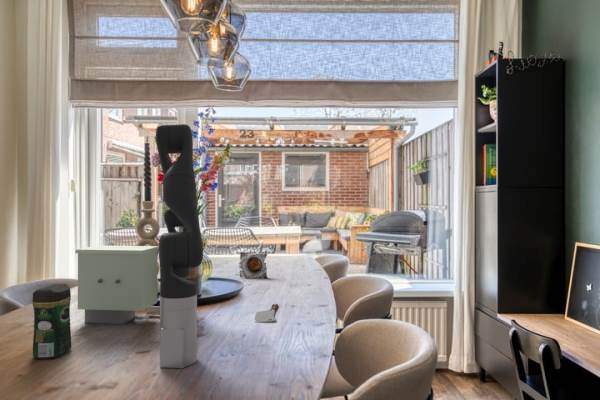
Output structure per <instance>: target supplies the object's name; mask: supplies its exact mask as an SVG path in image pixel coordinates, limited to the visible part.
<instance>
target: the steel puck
mask: <svg viewBox="0 0 600 400" xmlns="http://www.w3.org/2000/svg"><path fill="white" fill-rule="evenodd" d="M149 315H150V314H137V315H135V316H134V317H133V319H132V321H133V324H135V325H143V324H148V323H149V322H150V316H149Z"/></svg>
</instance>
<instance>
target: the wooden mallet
mask: <svg viewBox="0 0 600 400" xmlns="http://www.w3.org/2000/svg"><path fill="white" fill-rule="evenodd" d="M146 315H151V316H152V315H153V316H154V315H159V316H160V305H157V306H155V305H152V306H150V307H148V308H146Z"/></svg>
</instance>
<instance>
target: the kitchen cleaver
mask: <svg viewBox="0 0 600 400" xmlns="http://www.w3.org/2000/svg"><path fill="white" fill-rule="evenodd" d="M278 308H279V303H274V304H272V305H271V307H270V309H269V310H262V311H256V313H255V316H254V321H255V320H256V321H255V322H253V323H255V324H257V323H258V324H259V323H262V324H266V323H268V324H272V323H277V319H276V318H275V314H276V312H277V310H278Z"/></svg>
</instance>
